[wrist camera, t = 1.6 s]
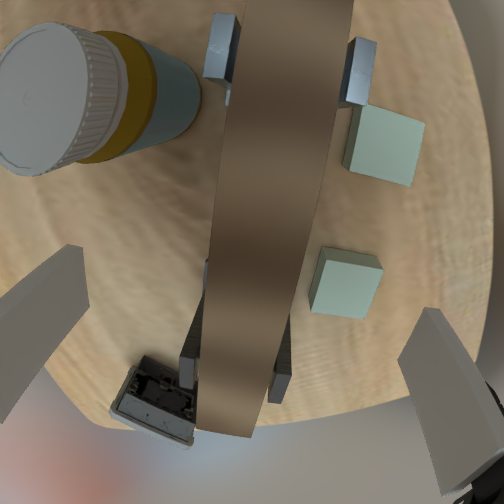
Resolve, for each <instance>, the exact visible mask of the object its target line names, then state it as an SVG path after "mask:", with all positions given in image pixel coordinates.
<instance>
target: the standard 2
mask: <svg viewBox="0 0 504 504" xmlns="http://www.w3.org/2000/svg"><path fill="white" fill-rule="evenodd" d="M240 33H241V26H240V24H239V21H238V19H237V17H236V15H235V14H220V13H214V16H213V21H212V26H211V31H210V36H209V42H208V47H207V53H206V58H205V64H204V70H203V76H202V77H204V78H206V79H208V80H210V81H212V82H214V83H216V84H218V85H220V86H222V87H224V88H226V89H227V95H226V101H225V105H228V103H229V97H230V91H231V85H232V79H233V73H234V67H235V61H236V55H237V50H238V44H239V39H240ZM376 45H377V42H374V41H370V40H367V39H364V38H360V37H357V36H356V37H355V38H354V39H353V40H352V41H351V42H350V43H349V44H348V46H347V52H346V58H345V65H344V71H343V77H342V82H341V88H340V94H339V99H338V105H337V108H348V107H362V106H367V101H368V96H369V90H370V84H371V78H372V72H373V66H374V59H375V52H376Z"/></svg>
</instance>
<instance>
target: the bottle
mask: <svg viewBox="0 0 504 504" xmlns="http://www.w3.org/2000/svg"><path fill="white" fill-rule="evenodd" d="M200 106H201V86H200V83H199V80H198V77H197V76H196V74H195V73H194V71H193V70H192V69H191V68H190V67H189V66H188V65H187V64H186V63H184V62H182V61H181V60H179V59H177V58H175V57H173V56H171V55H169V54H167V53H165V52H163V51H161V50H159V49H157V48H155V47H153V46H150V45H148V44H146V43H144V42H142V41H139V40H137V39H135V38H133V37H130V36H128V35H125V34H122V33H118V32H113V31H97V32H93V33H92V32H90V31H87V30H84V29H81V28H78V27H74V26H71V25H67V24H64V23H58V22H53V23H52V22H48V23H41V24H37V25H34V26H32V27H30V28H28V29H26V30H25V31H23V32H22V33H20V34H19V35H18V36H17V37H15V38H14V39H13V40H12V41H11V42H10V43H9V45H8V46H7V47H6V48H5V50H4V51H3V52H2V54H1V55H0V163H1V164H2V165H3V166H4V167H5V168H6V169H7V170H9V171H10V172H12V173H14V174H17V175H21V176H36V175H37V176H39V175H42V174H45V173H48V172H50V171H53V170H55V169H58V168H61V167H64V166H66V165H69V164H71V163H74V162H78V163H82V164H90V163H99V162H103V161H107V160H110V159H113V158H116V157H119V156H122V155H125V154H128V153H131V152H134V151H137V150H140V149H143V148H146V147H150V146H153V145H156V144H159V143H163V142H166V141H168V140H171V139H173V138H176V137H178V136H179V135H181V134H182V133H183V132H184V131H186V130H187V129H188V128H189V127H190V126H191V124H192V123H193V121H194V120H195V118H196V117H197V115H198V112H199V109H200Z"/></svg>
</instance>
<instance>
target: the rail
mask: <svg viewBox="0 0 504 504" xmlns="http://www.w3.org/2000/svg"><path fill="white" fill-rule="evenodd" d="M353 3H354V0H247V2H246V7H245V12H244V17H243V23H242V28H241V33H240V39H239V44H238V50H237V55H236V61H235V67H234V73H233V79H232V85H231V91H230V97H229V103H228V110H227V116H226V123H225V130H224V137H223V144H222V151H221V158H220V165H219V173H218V181H217V188H216V196H215V205H214V213H213V221H212V230H211V239H210V249H209V258H208V268H207V278H206V289H205V300H204V311H203V323H202V336H201V349H200V364H199V379H198V396H197V415H196V429H200V430H205V431H210V432H216V433H221V434H227V435H233V436H240V437H247V438H251V436H252V433H253V430H254V427H255V424H256V421H257V418H258V415H259V412H260V409H261V406H262V403H263V400H264V396H265V393H266V390H267V387H268V384H269V380H270V377H271V374H272V371H273V367H274V364H275V361H276V357H277V354H278V351H279V347H280V344H281V340H282V337H283V333H284V330H285V326H286V323H287V319H288V316H289V312H290V308H291V305H292V301H293V297H294V294H295V290H296V286H297V282H298V279H299V275H300V271H301V267H302V263H303V259H304V255H305V251H306V247H307V243H308V239H309V235H310V231H311V227H312V223H313V218H314V214H315V210H316V206H317V201H318V197H319V192H320V188H321V183H322V179H323V174H324V170H325V165H326V160H327V156H328V151H329V146H330V141H331V136H332V131H333V126H334V121H335V115H336V110H337V105H338V99H339V94H340V88H341V82H342V77H343V71H344V65H345V58H346V52H347V46H348V39H349V32H350V25H351V18H352V11H353Z"/></svg>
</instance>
